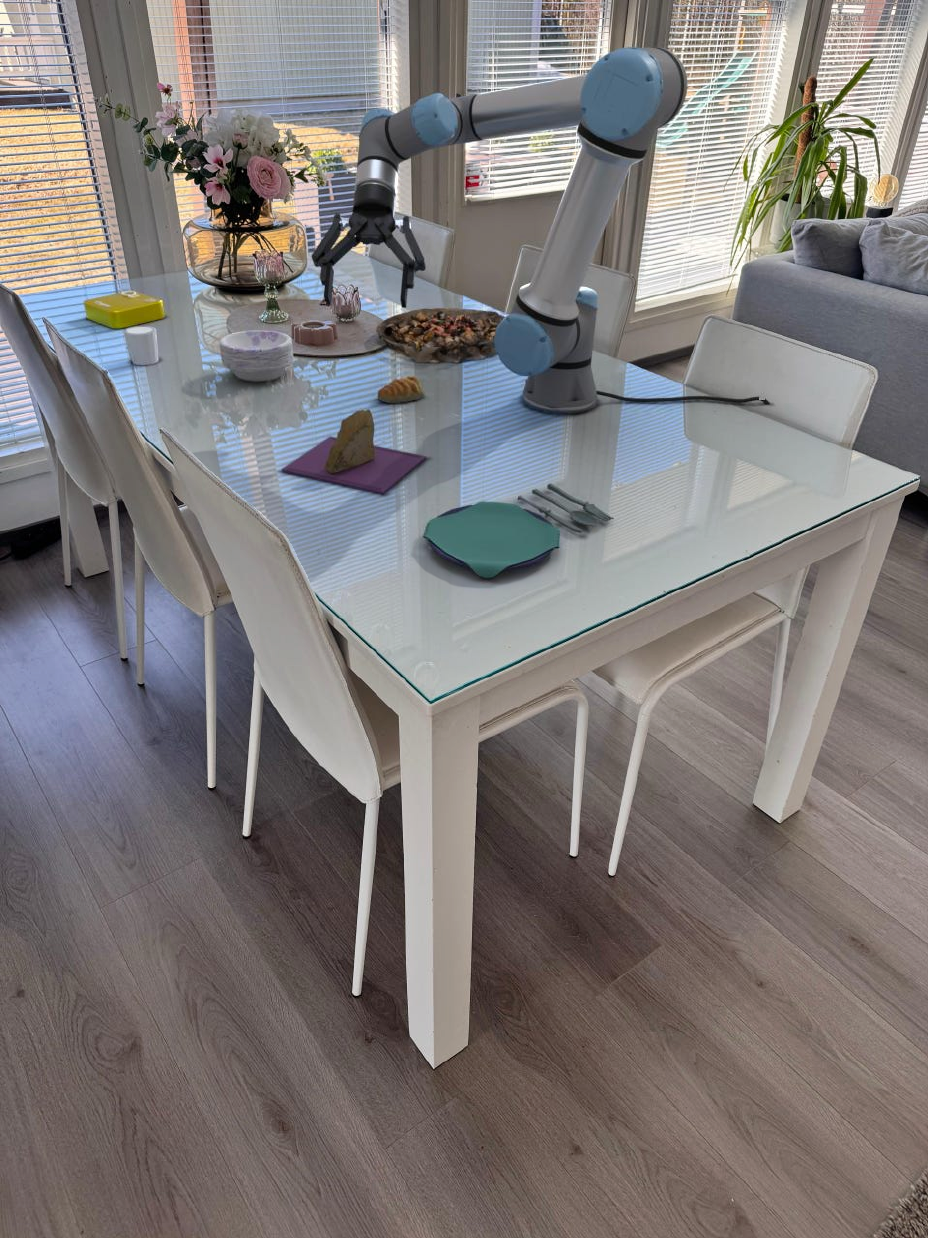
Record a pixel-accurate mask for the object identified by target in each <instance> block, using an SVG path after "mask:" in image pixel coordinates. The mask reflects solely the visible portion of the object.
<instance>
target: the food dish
mask: <svg viewBox="0 0 928 1238" xmlns="http://www.w3.org/2000/svg"><path fill="white" fill-rule="evenodd" d="M504 317H506V316H505V315H502V314H499V313H498V312H497V311H493V310H482V309H481V310H480V309H471V308H459V307H450V308H445V307H437V308H436V307H435V308H420V309H413V310H409V311H407V312H402V313H398V314H394V315H392V316H390V317H387V318H386V319H384V320H383V321H381V322H379V323H378V324H377V326H376V329H375V332H376V333H377V335H378V337H379V340H381V339H383V341H386V343H387V345H388V347H389V349H391V350H393V351H395V352H396V353H398V354H403V355H406V356H407V357H409V358H412V360H413V361H414V362H416V363H431V364H432V363H433V364H434V363H440V362H447V363H448V362H449V363H461V362H464V361H465V362H466V361H480V360H483V359H485V358H491V357H493V356H494V355H497V354H498V353H497V352H496V349H495V345H494V335H495V331H496V328H497V326H498V324H499V323H500V322H501V321H502V320H503V318H504Z"/></svg>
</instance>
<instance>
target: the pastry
mask: <svg viewBox="0 0 928 1238" xmlns="http://www.w3.org/2000/svg"><path fill="white" fill-rule="evenodd" d="M423 396H424V390H423V386H422V384H421V381H420V379H418V378H417V377H416V376H406V377H405V378H403V377H401V378H397V379H396V378H395V379H393V380H391V382H389V383H388V384H385V385H384V386H383V387H381V388H380V389H379V390H377V399H378V400H380V401H382V402H385V403H389V404H396V403H401V404H402V403H404V402H412V401H413V400H414V401H417V400H420V399H421V398H422V397H423Z"/></svg>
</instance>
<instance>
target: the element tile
mask: <svg viewBox="0 0 928 1238" xmlns="http://www.w3.org/2000/svg"><path fill="white" fill-rule="evenodd" d="M82 304H83V306H84V311H85V316H86V319H88V321H89V320H90V321H92V322H94V323H98V324H100V325H102V326H105V327H108V328H111V329H115V330H119V329H127V328H130V327H135V326H139V325H143V324H146V323H151V322H155V321H159V320H163V319H164V318H166V317H165V316H166V315H165V309H164V303H163V300H162V299H160V298H157V297H153V296H150V295H149V294H144V293H141V292H140V291H139V292H138V291H136V290H125V291H122V292H117V293H112V294H107V295H102V296H98V297H93V298H88V299H85V300H84V301H83V303H82Z"/></svg>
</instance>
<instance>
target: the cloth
mask: <svg viewBox="0 0 928 1238" xmlns="http://www.w3.org/2000/svg"><path fill="white" fill-rule="evenodd" d="M336 438H337V437H334V436H329V437H327V438H325V440H323V441H321V442H320V443H318V444H316V446H314V447H313V448H311V449H309V450H308V451H307V452H305V453H303V454H302V455H301V456H299V457H298V458H296V459H295V460H293V461H292V462H290V463H289V464H287V465H286V466H285V467H283V468H282V469H281V472H282V473H287V474H291V475H294V476H299V477H303V478H308V479H314V480H317V481H321V482H326V483H331V484H334V485H339V486H344V487H347V488H352V489H357V490H361V491H366V492H368V493H369V492H370V493H374V494H379V495H385V494H387V493H388V492H389V491H390V490H391V489H392V488H393V487H395V486H396V485H397V484H398V483H399V482H401V481H402V480H403V479H404V478H406V476H408V475H409V474H410V473H411V472H412V471H413V470H415V469H416V468H417V467H418V466H419V465H421V464H422V463H423V462H424V461H426V460H427V456H426V455H421V454H417V453H411V452H407V451H401V450H396V449H392V448H388V447H383V446H377V445H374V448H375V458H374V459H373V460H370V461H367V462H365V463H363V464H360V465H358V466H353V467H350V468H349V469H346V470H342V471H339V472H336V473H330V472H329V471H327V470H326V469H325V466H326V461H327V459H328V456H329V452H330V449H331V447H332V445H333V444H334V443H335V441H336Z"/></svg>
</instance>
